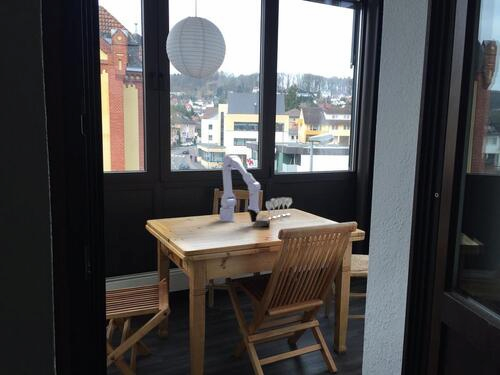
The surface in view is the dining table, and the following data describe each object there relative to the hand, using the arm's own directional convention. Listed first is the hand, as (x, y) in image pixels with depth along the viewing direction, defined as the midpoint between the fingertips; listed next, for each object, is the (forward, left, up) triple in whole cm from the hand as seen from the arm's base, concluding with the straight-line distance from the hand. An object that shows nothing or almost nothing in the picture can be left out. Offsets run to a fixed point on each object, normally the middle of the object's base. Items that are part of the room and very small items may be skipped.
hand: (253, 222), depth 268 cm
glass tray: (+5, +1, -2) cm, 5 cm away
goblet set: (+18, +33, -3) cm, 38 cm away
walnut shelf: (+6, +1, -2) cm, 6 cm away
